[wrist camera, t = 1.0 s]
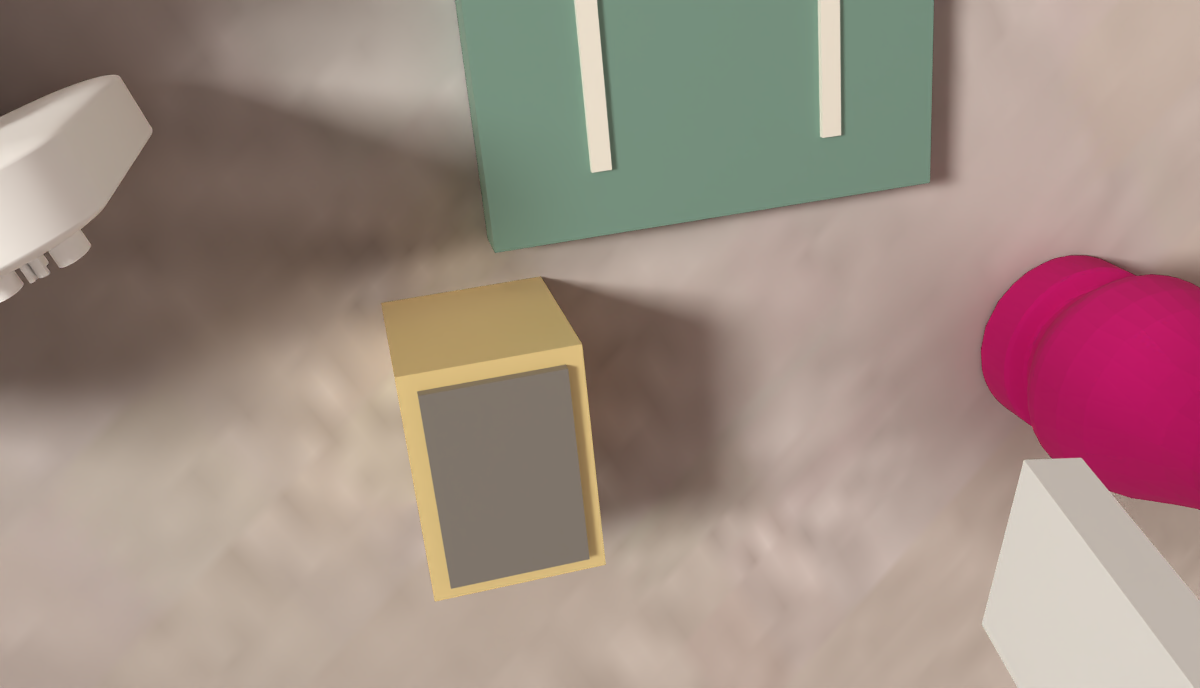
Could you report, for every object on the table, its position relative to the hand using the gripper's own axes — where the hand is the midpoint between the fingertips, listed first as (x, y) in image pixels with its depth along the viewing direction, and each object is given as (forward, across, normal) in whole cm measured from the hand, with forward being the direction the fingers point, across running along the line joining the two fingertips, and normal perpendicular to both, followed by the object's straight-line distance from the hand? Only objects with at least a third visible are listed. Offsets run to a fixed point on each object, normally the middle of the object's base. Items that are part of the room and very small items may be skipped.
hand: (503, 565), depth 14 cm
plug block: (+20, 0, +10) cm, 23 cm away
